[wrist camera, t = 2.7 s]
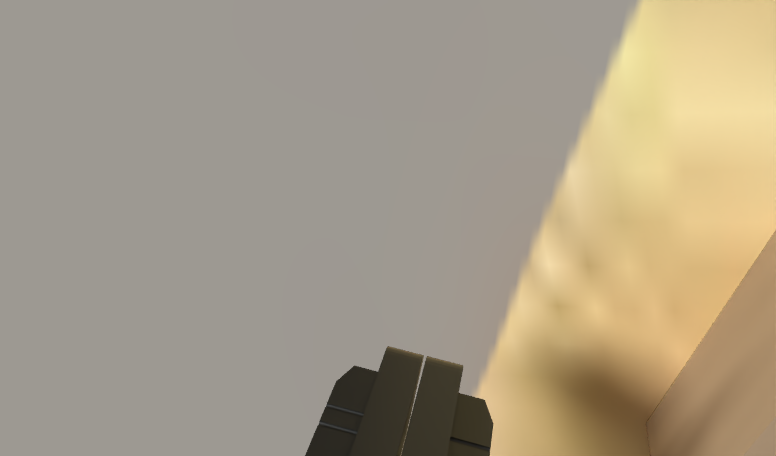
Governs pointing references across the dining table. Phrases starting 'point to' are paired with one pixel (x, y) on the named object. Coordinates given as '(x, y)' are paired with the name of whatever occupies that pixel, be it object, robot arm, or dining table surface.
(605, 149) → the dining table surface
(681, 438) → the block
